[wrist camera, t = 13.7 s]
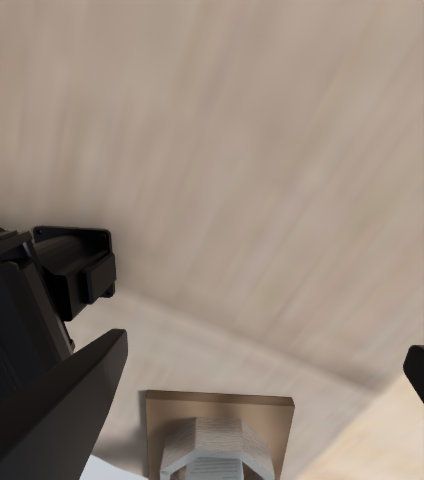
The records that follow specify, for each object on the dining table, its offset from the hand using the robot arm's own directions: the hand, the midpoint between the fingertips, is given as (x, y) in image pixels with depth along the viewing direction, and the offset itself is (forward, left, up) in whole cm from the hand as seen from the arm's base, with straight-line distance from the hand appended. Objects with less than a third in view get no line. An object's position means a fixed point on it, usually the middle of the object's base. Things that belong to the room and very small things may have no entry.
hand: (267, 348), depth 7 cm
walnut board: (0, -26, -13) cm, 29 cm away
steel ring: (0, -26, -13) cm, 29 cm away
